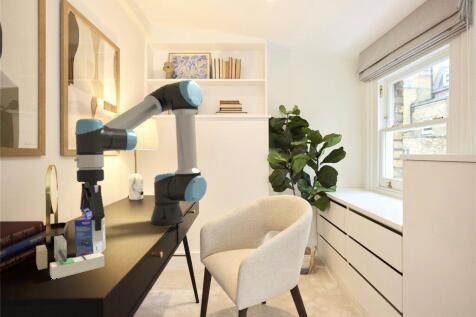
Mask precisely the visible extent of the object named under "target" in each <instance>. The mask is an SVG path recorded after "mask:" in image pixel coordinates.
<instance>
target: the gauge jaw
mask: <svg viewBox="0 0 476 317" xmlns="http://www.w3.org/2000/svg"><path fill="white" fill-rule="evenodd" d="M53 240H54V241H53V242H54V243H53V245H54V246H53V252H54V254H53V255H54V256H53V257H54V259H55V262H57V261H59V260H63V262H67V259H68V257H67V254H68V252H67V246H68V245H67V244H68V243H67V242H68V241H67V240H66V238H65V237H64V235H62V234H61V235H56V236H54V237H53Z"/></svg>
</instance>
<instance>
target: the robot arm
mask: <svg viewBox="0 0 476 317" xmlns="http://www.w3.org/2000/svg"><path fill="white" fill-rule="evenodd" d="M203 97H204V95H203V91H202V88H201V87H200V86H199V85H198V83H196V82H195V81H194V80H193V79H192V80H191V79H187V80H184V79H183V80H181V81H176V82H172V83H168V84H165V85H162V86H160V87H159V88H156V90H154V91H152V92H151V93H149V94H147V95H146V96H145V97H144V99H143V101H141V102H139V103H137V104H136V105H134V106H132V107H131V108H130V109H128V110H126V111H125V112H123V113H121V114H119V115H117V116H115V118H113V119H112V120H110V121H108V122H106V123H104V122H103V120H101V119H96V118H81V119H78V120H76V122H75V132H74V134H75V153H76V158H74V162H76V169H78V170H77V171H76V182H78V183H81V195H80V196H81V197H80V204H79V205H80V207H79V209H80V212H81V217H83V216H85V214H84V212H83V210H84V209H86V208H88V209H89V210H90V211H91V213H92V217H91V218H90V221H91V220H92V242H98V241H103V222H102V219H103V218H104V217H106V214H105V209H104V203H103V195H102V186H101V184H98V182H102V181H103V182H104V180H105V170H104V169H103V168H104V167H105V160H104V159H105V158H104V157H105V155H104V152H114V151H124V152H125V151H133V150H135V148H136V147H137V144H138V136H137V132H135V131H134V129H136V128H138V127H139V126H140V125H142V124H144V123H145V122H146V121H148V120H149V119H151V118H153V116H159V115H161V114H162V113H164V112H167V111H171V113H172V114H173V115H174V118H175V135H176V138H175V139H176V154H177V157H176V158H177V169H176V171H174V172H170V173H169V172H168V173H161V174H157V175H155V177H154V181H153V188H154V192H153V194H154V207H153V210H152V214H151V216H150V223H151V224H152V225H157V226H168V225H169V226H170V225H176V224H179V223H182V222H183V221H184V214H183V211H182V208H181V204H180V202H186V203H197V202H200V201H201V200H202V199H203V198H204V196H205V195H206V193H207V188H208V184H207V183H208V182H207V180H206V178H205V177H204V176H202V173H201V172H202V171H201V170H200V169H199V167H198V159H197V158H198V157H197V156H198V155H197V135H196V118H195V117H196V114H197V113H198V112H199V106H201V104H202V103H203V101H204V100H203V99H204V98H203ZM86 213H89V211H86ZM104 214H105V215H104Z"/></svg>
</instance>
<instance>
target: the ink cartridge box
mask: <svg viewBox="0 0 476 317" xmlns="http://www.w3.org/2000/svg"><path fill="white" fill-rule="evenodd" d="M86 211H89V213H86ZM83 212H84V214H85V216H83V217H82V216H80V218H77V219H75V220H74V240H75V242H74V243H75V258H76V257H80V256H82V255H83V256H85V255H90V254H94V253H99V252H101V253H102V254H103V252H104V251H105V250H106V249H107V246H106V218H105V217H106V214H105V213H104V215H105V217H104V218H103V219H102V222H103V241H98V242H92V220H91V221H90V218H91V217H92V212H91V211H90V210H89V209H88V208H86V209H84V210H83Z"/></svg>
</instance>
